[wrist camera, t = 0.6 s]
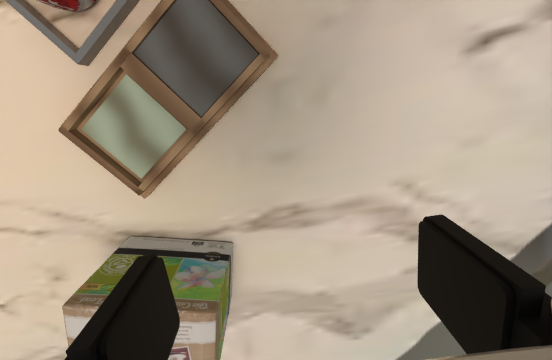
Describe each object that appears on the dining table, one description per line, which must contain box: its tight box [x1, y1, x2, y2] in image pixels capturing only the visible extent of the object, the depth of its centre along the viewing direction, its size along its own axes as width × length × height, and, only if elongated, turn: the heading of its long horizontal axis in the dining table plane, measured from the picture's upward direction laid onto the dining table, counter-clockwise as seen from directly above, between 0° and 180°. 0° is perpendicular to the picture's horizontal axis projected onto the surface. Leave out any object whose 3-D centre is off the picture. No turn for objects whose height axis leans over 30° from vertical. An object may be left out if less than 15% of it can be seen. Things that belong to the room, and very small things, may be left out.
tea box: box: [62, 236, 233, 360], centre depth 36 cm, size 15×10×15 cm
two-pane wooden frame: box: [59, 0, 278, 198], centre depth 34 cm, size 25×13×3 cm, turn 135°
